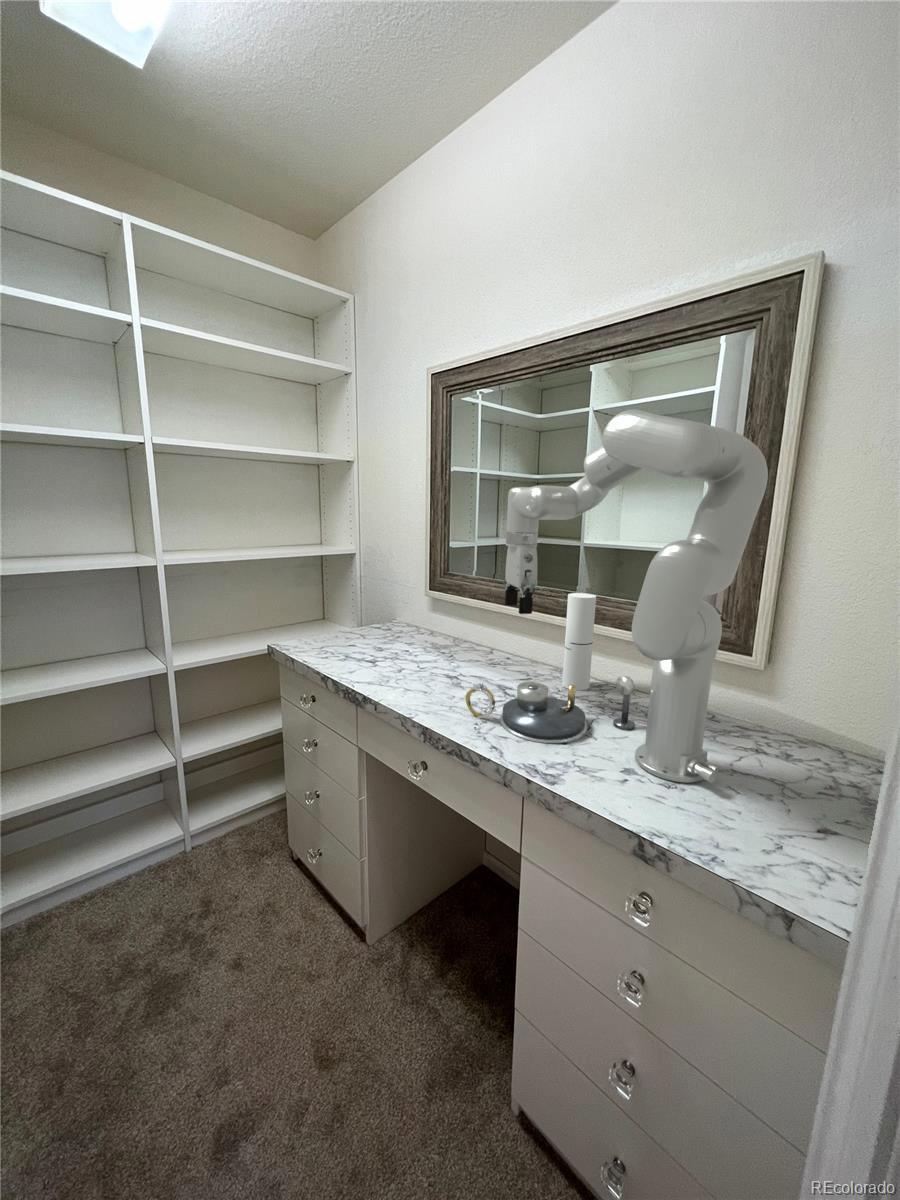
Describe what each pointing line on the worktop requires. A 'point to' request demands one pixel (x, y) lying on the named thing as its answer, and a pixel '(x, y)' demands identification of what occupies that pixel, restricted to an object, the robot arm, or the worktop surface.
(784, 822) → the worktop surface
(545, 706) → the cover
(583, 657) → the cylindrical container
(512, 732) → the base
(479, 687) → the bracelet
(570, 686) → the turntable
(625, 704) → the ball topped stand
